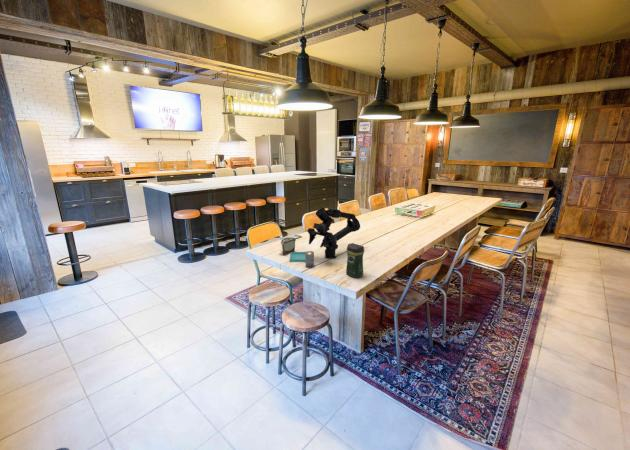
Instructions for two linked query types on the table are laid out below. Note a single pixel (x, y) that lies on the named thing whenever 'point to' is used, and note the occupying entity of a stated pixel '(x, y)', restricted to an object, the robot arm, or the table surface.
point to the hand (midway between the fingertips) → (314, 245)
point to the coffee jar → (355, 260)
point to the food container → (288, 245)
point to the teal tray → (297, 257)
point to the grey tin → (309, 259)
